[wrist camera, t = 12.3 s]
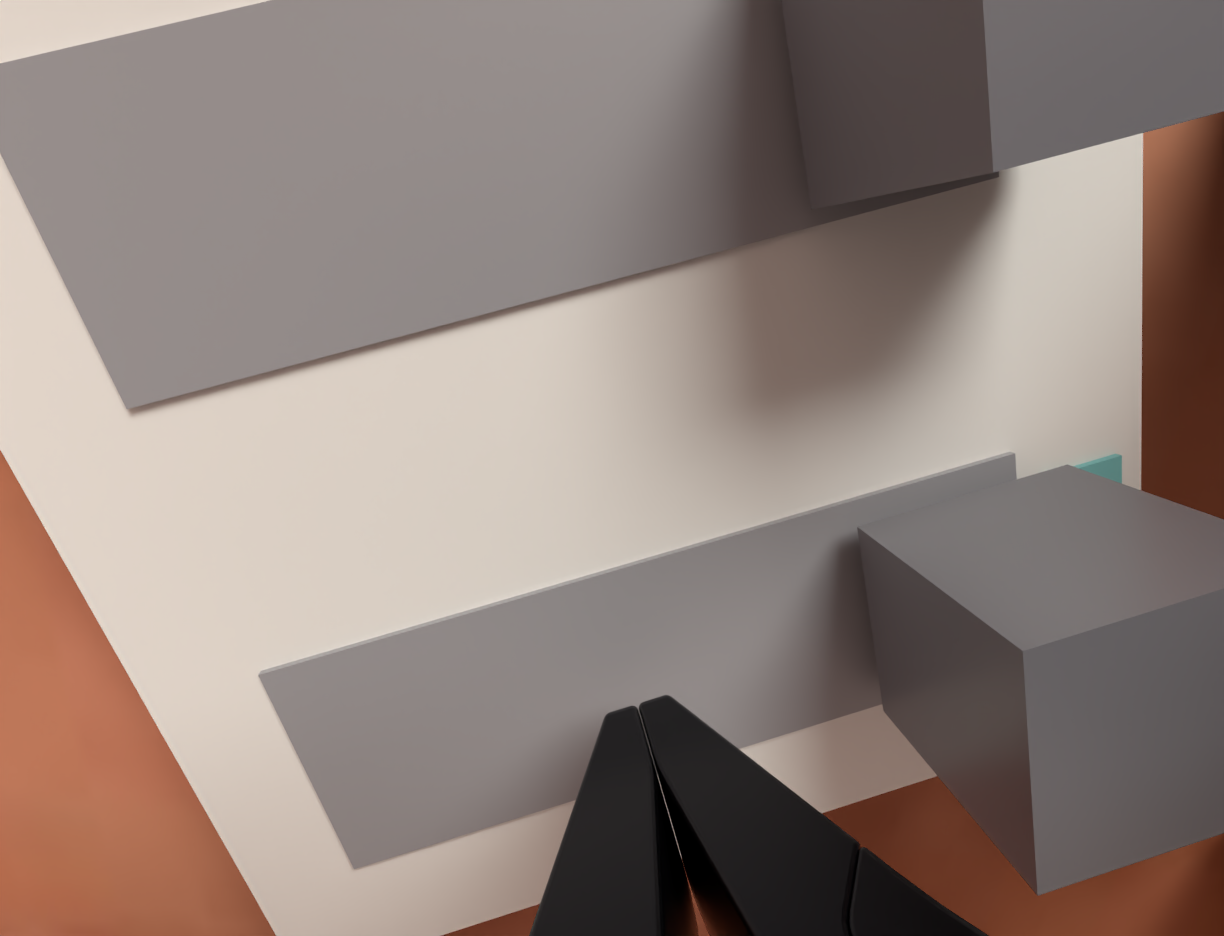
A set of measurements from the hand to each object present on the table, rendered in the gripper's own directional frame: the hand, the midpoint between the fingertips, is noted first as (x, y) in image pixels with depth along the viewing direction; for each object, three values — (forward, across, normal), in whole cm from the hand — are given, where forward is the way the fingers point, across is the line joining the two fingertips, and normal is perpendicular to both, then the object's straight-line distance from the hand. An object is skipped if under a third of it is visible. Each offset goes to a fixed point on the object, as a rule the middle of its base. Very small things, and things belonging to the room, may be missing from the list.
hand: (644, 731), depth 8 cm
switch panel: (+3, -1, -4) cm, 5 cm away
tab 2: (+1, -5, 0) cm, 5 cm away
